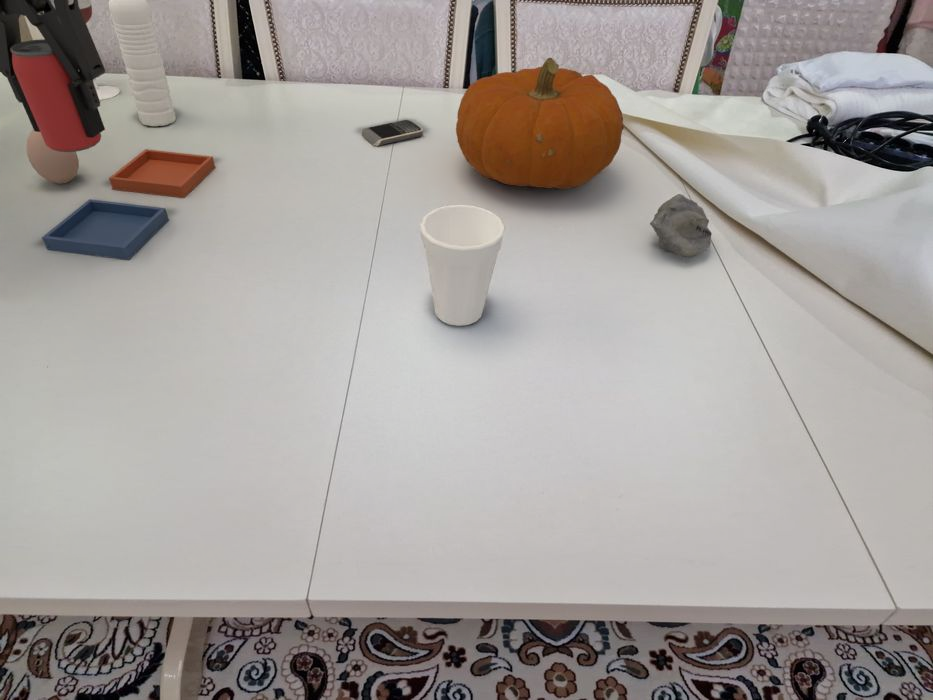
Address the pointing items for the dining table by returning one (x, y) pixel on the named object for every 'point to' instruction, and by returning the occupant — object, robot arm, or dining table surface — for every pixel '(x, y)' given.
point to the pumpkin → (539, 127)
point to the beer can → (50, 96)
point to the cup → (461, 259)
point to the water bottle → (142, 61)
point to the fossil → (682, 227)
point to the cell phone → (392, 132)
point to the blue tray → (106, 229)
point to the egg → (51, 160)
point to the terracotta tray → (163, 173)
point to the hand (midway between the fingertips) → (70, 130)
